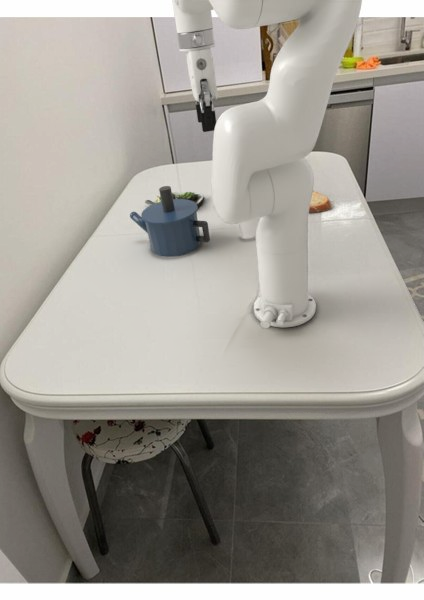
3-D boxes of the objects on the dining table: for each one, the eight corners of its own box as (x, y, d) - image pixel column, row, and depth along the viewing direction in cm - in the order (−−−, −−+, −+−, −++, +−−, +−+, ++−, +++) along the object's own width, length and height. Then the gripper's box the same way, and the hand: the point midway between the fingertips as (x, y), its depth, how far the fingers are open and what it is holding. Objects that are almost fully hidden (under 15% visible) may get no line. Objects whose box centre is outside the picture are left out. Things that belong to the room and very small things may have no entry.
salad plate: (132, 216, 141) (129, 202, 139) (161, 194, 154) (159, 182, 151) (184, 221, 133) (181, 206, 130) (210, 198, 146) (208, 184, 143)
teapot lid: (183, 228, 106) (178, 200, 102) (131, 225, 112) (125, 198, 108) (206, 204, 117) (202, 177, 113) (158, 202, 123) (153, 177, 119)
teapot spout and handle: (208, 244, 114) (204, 217, 110) (133, 238, 123) (127, 213, 119) (211, 240, 116) (208, 213, 111) (137, 234, 124) (131, 210, 120)
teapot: (188, 260, 112) (182, 225, 107) (142, 256, 118) (134, 222, 112) (208, 236, 122) (203, 202, 117) (165, 233, 128) (159, 201, 122)
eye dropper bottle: (260, 240, 116) (257, 198, 109) (239, 241, 118) (235, 198, 111) (262, 233, 120) (259, 191, 113) (242, 233, 121) (238, 192, 114)
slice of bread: (333, 210, 125) (334, 198, 123) (270, 217, 127) (270, 205, 125) (321, 188, 140) (321, 177, 138) (265, 195, 142) (264, 183, 140)
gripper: (219, 40, 85) (229, 132, 94) (208, 36, 99) (217, 115, 109) (181, 46, 84) (195, 137, 94) (176, 41, 99) (188, 120, 108)
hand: (207, 125), depth 101 cm, fingers open, 9 cm apart
